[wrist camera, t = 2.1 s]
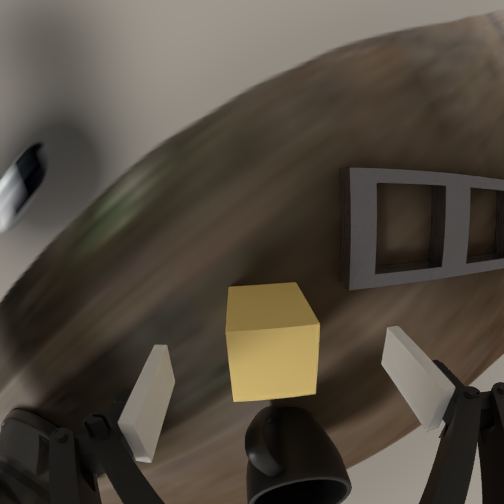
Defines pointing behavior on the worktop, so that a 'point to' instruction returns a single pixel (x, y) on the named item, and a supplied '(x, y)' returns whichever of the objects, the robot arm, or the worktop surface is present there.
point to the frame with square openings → (442, 228)
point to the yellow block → (271, 342)
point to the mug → (292, 460)
